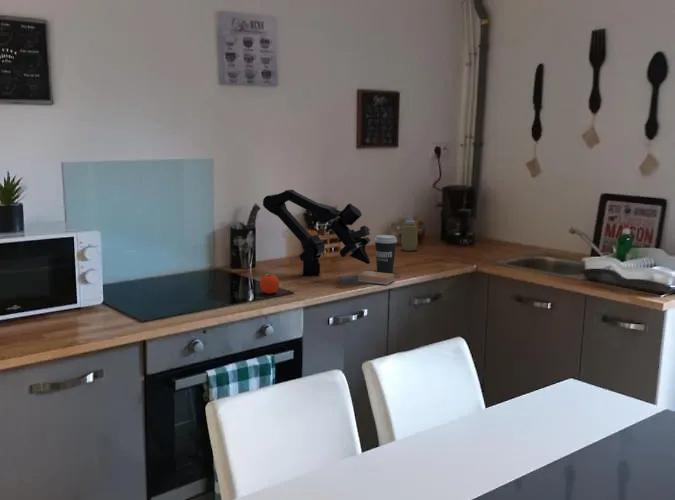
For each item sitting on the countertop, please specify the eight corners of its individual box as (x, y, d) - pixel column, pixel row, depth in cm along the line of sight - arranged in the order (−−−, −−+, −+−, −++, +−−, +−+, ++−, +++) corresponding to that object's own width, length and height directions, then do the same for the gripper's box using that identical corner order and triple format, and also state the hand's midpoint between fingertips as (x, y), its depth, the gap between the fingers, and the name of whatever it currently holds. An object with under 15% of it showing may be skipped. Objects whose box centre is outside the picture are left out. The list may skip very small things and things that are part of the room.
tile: (358, 274, 271) (387, 278, 266) (365, 270, 278) (394, 273, 273) (357, 281, 271) (387, 284, 266) (365, 276, 278) (394, 280, 274)
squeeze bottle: (398, 249, 341) (399, 212, 338) (413, 248, 344) (414, 211, 340) (404, 252, 334) (405, 214, 330) (420, 251, 336) (421, 214, 333)
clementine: (254, 292, 253) (253, 273, 252) (269, 289, 258) (269, 270, 257) (268, 296, 248) (268, 277, 246) (283, 293, 252) (283, 274, 251)
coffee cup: (369, 270, 293) (370, 235, 290) (390, 269, 296) (391, 234, 293) (378, 275, 284) (379, 238, 281) (400, 273, 287) (401, 237, 284)
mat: (341, 283, 268) (341, 282, 268) (338, 276, 280) (338, 275, 280) (378, 283, 270) (378, 282, 270) (373, 276, 281) (373, 275, 281)
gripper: (347, 222, 263) (374, 254, 261) (366, 216, 280) (391, 246, 277) (328, 241, 268) (354, 272, 265) (347, 234, 284) (372, 263, 282)
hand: (369, 263), depth 272 cm, fingers closed
